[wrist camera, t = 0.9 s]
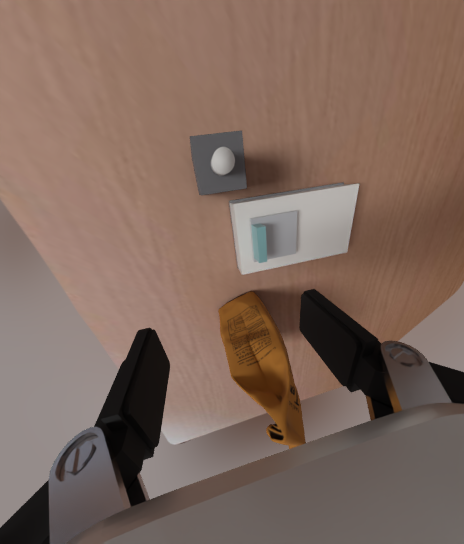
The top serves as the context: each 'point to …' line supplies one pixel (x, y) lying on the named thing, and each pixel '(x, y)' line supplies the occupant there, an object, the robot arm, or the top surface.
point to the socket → (298, 223)
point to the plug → (218, 162)
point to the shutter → (273, 236)
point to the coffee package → (262, 365)
